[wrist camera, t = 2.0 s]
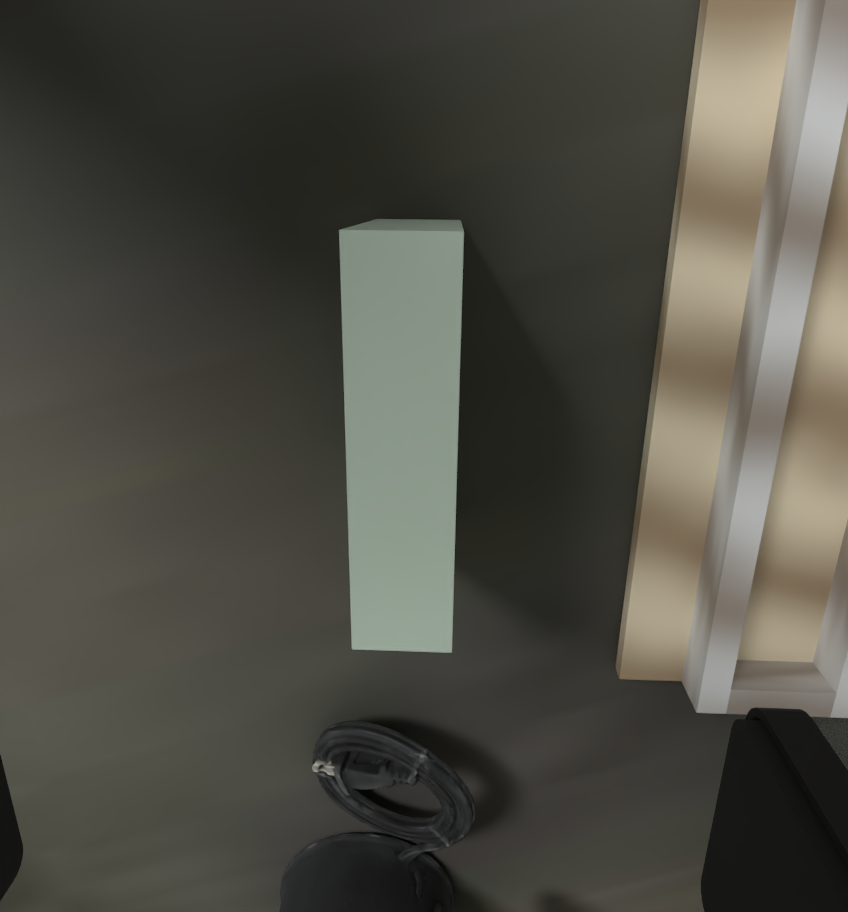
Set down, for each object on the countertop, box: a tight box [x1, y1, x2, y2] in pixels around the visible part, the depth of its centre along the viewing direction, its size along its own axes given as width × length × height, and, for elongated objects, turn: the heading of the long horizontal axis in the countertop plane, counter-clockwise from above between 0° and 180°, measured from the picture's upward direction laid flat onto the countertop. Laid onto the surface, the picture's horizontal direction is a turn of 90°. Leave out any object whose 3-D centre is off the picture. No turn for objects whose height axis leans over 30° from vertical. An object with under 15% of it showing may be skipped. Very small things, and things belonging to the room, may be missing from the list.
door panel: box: [339, 219, 464, 653], centre depth 23 cm, size 12×3×9 cm, turn 179°
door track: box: [615, 0, 848, 718], centre depth 25 cm, size 26×12×3 cm, turn 179°
